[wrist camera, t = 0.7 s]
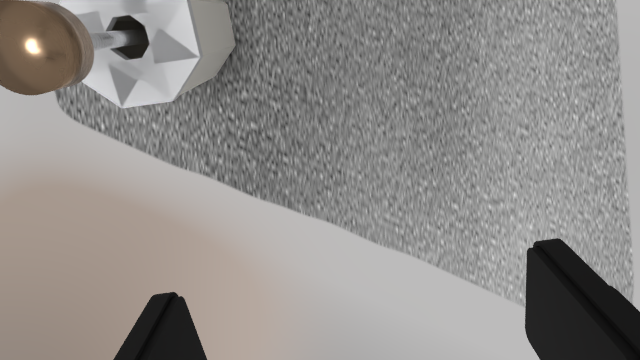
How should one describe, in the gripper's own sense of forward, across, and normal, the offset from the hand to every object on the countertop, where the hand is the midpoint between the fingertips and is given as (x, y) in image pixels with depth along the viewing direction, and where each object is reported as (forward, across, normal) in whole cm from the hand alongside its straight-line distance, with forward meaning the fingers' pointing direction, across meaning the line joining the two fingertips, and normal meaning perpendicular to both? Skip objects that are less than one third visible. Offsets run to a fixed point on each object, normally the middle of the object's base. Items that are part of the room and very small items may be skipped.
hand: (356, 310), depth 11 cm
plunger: (+27, +13, -8) cm, 31 cm away
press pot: (+33, +13, -9) cm, 37 cm away
